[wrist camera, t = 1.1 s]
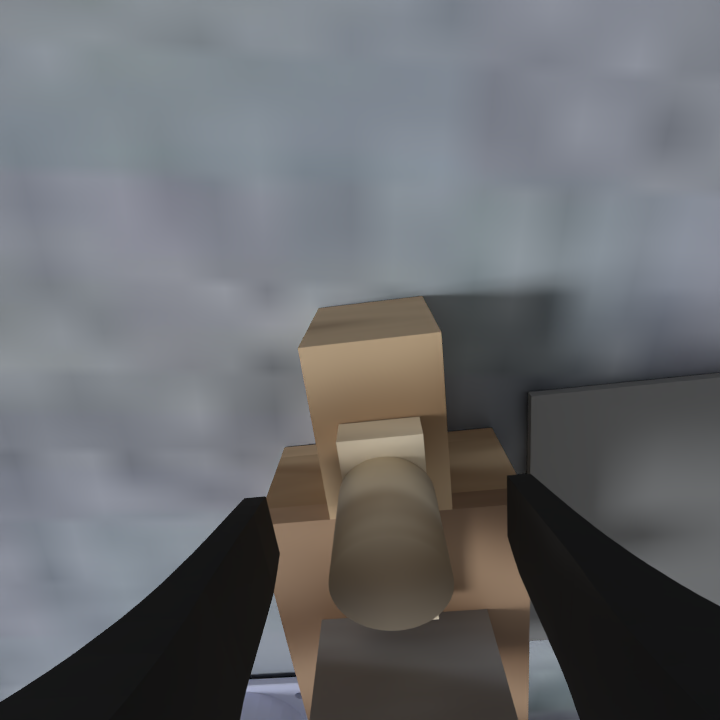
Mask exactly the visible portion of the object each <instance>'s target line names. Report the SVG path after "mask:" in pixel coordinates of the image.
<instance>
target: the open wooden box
mask: <svg viewBox="0 0 720 720" xmlns="http://www.w3.org/2000/svg"><path fill="white" fill-rule="evenodd" d="M298 351H299V356H300V362H301V367H302V372H303V378H304V383H305V388H306V394H307V399H308V404H309V410H310V415H311V420H312V426H313V431H314V436H315V441H316V444H315V445H305V446H294V447H285V448H284V451H283V453H282V456H281V459H280V462H279V464H278V467H277V470H276V473H275V475H274V478H273V481H272V484H271V486H270V489H269V492H268V495H267V497H266V499H267V503H268V507H269V509H271V508H282V507H294V506H306V505H318V504H327V505H328V511H329V516H330V519H336V513H337V505H338V496H339V490H340V486H341V483H342V475H341V469H340V463H339V457H338V451H337V445H336V439H337V433H338V426H339V424H349V423H359V422H369V421H379V420H390V419H400V418H410V417H420V422H421V426H422V431H423V438H424V450H425V461H426V473H427V475H428V476H429V477H430V479H431V481H432V483H433V486H434V489H435V493H436V498H437V503H438V507H439V510H451V509H452V494H451V493H459V492H471V491H482V490H494V489H506V488H507V475H517V474H516V473H515V471H514V469H513V467H512V465H511V463H510V461H509V459H508V457H507V456H506V454H505V452H504V450H503V448H502V446H501V444H500V442H499V440H498V439H497V437H496V435H495V433H494V431H493V429H492V428H483V429H472V430H462V431H451V432H448V430H447V414H446V398H445V382H444V367H443V351H442V335H441V330H440V329H439V327H438V325H437V323H436V321H435V319H434V317H433V315H432V314H431V312H430V310H429V308H428V306H427V304H426V302H425V300H424V299H423V297H422V296H418V297H409V298H401V299H393V300H384V301H376V302H367V303H359V304H351V305H342V306H334V307H325V308H319V309H318V311H317V313H316V315H315V316H314V318H313V320H312V322H311V324H310V326H309V328H308V330H307V332H306V334H305V336H304V337H303V339H302V341H301V343H300V345H299V347H298Z"/></svg>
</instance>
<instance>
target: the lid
mask: <svg viewBox="0 0 720 720" xmlns="http://www.w3.org/2000/svg"><path fill="white" fill-rule="evenodd" d="M451 494H452V509H451V510H439V512H440V517H441V521H442V526H443V531H444V535H445V540H446V544H447V549H448V554H449V558H450V563H451V568H452V572H453V577H454V591H453V595H452V597H451V600H450V602H449V604H448V605H447V607H446V608H445V609H444V610H443V611H442V612H441V613H440V614H439V619H436V620H431V621H429V622H427V623H425V624H423V625H421V626H418V627H415V628H411V629H406V630H399V631H385V630H377V629H372V628H369V627H365V626H363V625H360V624H358V623H356V622H354V621H352V620H351V619H349V618H348V617H346V616H345V615H344V614H343V613H342V612H341V611H340V610H339V609H338V608H337V606H336V605H335V603H334V602H333V600H332V598H331V595H330V592H329V585H328V583H329V572H330V564H331V555H332V547H333V538H334V530H335V522H336V519H330V516H329V511H328V505H327V504H318V505H306V506H294V507H282V508H271V509H269V511H270V515H271V519H272V524H273V528H274V532H275V536H276V540H277V544H278V548H279V552H280V557H279V564H278V571H277V577H276V583H275V589H274V594H275V598H276V602H277V606H278V610H279V613H280V617H281V621H282V625H283V628H284V632H285V636H286V640H287V643H288V647H289V651H290V655H291V659H292V662H293V666H294V670H295V674H296V677H297V681H298V685H299V689H300V693H301V696H302V700H303V704H304V708H305V711H306V715H307V719H308V720H528V690H529V630H530V597H529V595H528V593H527V590H526V588H525V586H524V584H523V581H522V579H521V577H520V574H519V572H518V569H517V565H516V562H515V559H514V556H513V553H512V550H511V546H510V543H509V540H508V537H507V488H506V489H494V490H482V491H471V492H459V493H451Z"/></svg>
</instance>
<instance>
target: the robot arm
mask: <svg viewBox="0 0 720 720" xmlns="http://www.w3.org/2000/svg"><path fill="white" fill-rule="evenodd" d="M507 537H508V540H509V543H510V546H511V550H512V553H513V556H514V559H515V562H516V565H517V569H518V572H519V574H520V577H521V579H522V581H523V584H524V586H525V588H526V590H527V593H528V595H529V597H530V600H531V602H532V604H533V606H534V609H535V611H536V613H537V615H538V617H539V620H540V622H541V624H542V626H543V629H544V631H545V633H546V635H547V638H548V640H549V642H550V644H551V646H552V649H553V651H554V653H555V655H556V658H557V660H558V662H559V664H560V667H561V669H562V672H563V674H564V677H565V679H566V682H567V684H568V687H569V690H570V693H571V695H572V698H573V701H574V704H575V707H576V710H577V712H578V715H579V718H580V720H720V606H719V605H717V604H715V603H713V602H711V601H710V600H708V599H706V598H704V597H702V596H700V595H698V594H697V593H695V592H693V591H692V590H690V589H688V588H686V587H685V586H683V585H681V584H679V583H678V582H676V581H675V580H673V579H671V578H670V577H668V576H666V575H665V574H663V573H662V572H660V571H658V570H657V569H655V568H654V567H652V566H650V565H649V564H647V563H646V562H644V561H643V560H641V559H640V558H638V557H637V556H635V555H634V554H632V553H631V552H629V551H628V550H626V549H625V548H624V547H622V546H621V545H619V544H618V543H616V542H615V541H614V540H612V539H611V538H609V537H608V536H607V535H605V534H604V533H603V532H601V531H600V530H599V529H597V528H596V527H595V526H593V525H592V524H591V523H590V522H588V521H587V520H586V519H585V518H583V517H582V516H581V515H579V514H578V513H577V512H576V511H574V510H573V509H572V508H571V507H570V506H568V505H567V504H566V503H565V502H564V501H562V500H561V499H560V498H559V497H558V496H556V495H555V494H554V493H553V492H552V491H551V490H549V489H548V488H547V487H546V486H545V485H543V484H542V483H541V482H540V481H539V480H538V479H536V478H535V477H534V476H533V475H532V474H518V475H507ZM279 557H280V552H279V548H278V544H277V540H276V536H275V532H274V528H273V524H272V519H271V515H270V511H269V507H268V503H267V499H266V497H254V498H245V499H244V500H243V501H242V502H241V503H240V504H239V505H238V506H237V507H236V508H235V509H234V510H233V511H232V512H231V513H230V514H229V515H228V516H227V517H226V519H225V520H224V521H223V522H222V523H221V524H220V525H219V526H218V527H217V528H216V529H215V530H214V532H213V533H212V534H211V535H210V536H209V537H208V538H207V539H206V540H205V541H204V542H203V543H202V544H201V545H200V546H199V547H198V548H197V549H196V550H195V551H194V553H193V554H192V555H190V556H189V557H188V558H187V559H186V560H185V561H184V562H183V563H182V564H181V565H180V566H179V567H178V568H177V569H176V570H175V571H174V572H173V573H172V574H171V575H170V576H169V577H168V578H167V579H166V580H165V581H164V582H163V583H162V584H160V585H159V586H158V587H157V588H156V589H155V590H154V591H153V592H152V593H150V594H149V595H148V596H147V597H146V598H145V599H144V600H142V601H141V602H140V603H139V604H138V605H136V606H135V607H134V608H133V609H132V610H130V611H129V612H128V613H127V614H126V615H124V616H123V617H122V618H121V619H119V620H118V621H117V622H116V623H114V624H113V625H112V626H110V627H109V628H108V629H106V630H105V631H104V632H102V633H101V634H100V635H98V636H97V637H96V638H94V639H93V640H92V641H90V642H89V643H88V644H86V645H85V646H84V647H82V648H81V649H80V650H78V651H77V652H76V653H74V654H73V655H71V656H70V657H69V658H67V659H66V660H64V661H63V662H61V663H60V664H58V665H57V666H55V667H54V668H53V669H51V670H50V671H48V672H47V673H45V674H44V675H42V676H41V677H39V678H37V679H36V680H34V681H33V682H31V683H30V684H28V685H27V686H25V687H24V688H22V689H21V690H19V691H17V692H16V693H14V694H13V695H11V696H9V697H8V698H6V699H5V700H3V701H1V702H0V720H308V719H307V715H306V711H305V708H304V704H303V700H302V696H301V693H300V689H299V685H298V681H297V677H284V678H266V679H249V678H250V675H251V671H252V668H253V664H254V661H255V657H256V654H257V650H258V647H259V643H260V640H261V636H262V633H263V629H264V626H265V622H266V619H267V615H268V611H269V608H270V604H271V601H272V597H273V593H274V589H275V583H276V577H277V571H278V564H279Z"/></svg>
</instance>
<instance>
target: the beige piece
mask: <svg viewBox="0 0 720 720" xmlns="http://www.w3.org/2000/svg"><path fill="white" fill-rule="evenodd" d="M336 445H337V451H338V457H339V463H340V469H341V475H342V483H341V486H340V490H339V496H338V505H337V513H336V522H335V530H334V538H333V547H332V555H331V564H330V572H329V583H328V585H329V592H330V595H331V598H332V600H333V602H334V603H335V605H336V606H337V608H338V609H339V610H340V611H341V612H342V613H343V614H344V615H345V616H346V617H348V618H349V619H351V620H352V621H354V622H356V623H358V624H360V625H363V626H365V627H369V628H372V629H377V630H385V631H399V630H406V629H411V628H415V627H418V626H421V625H423V624H425V623H427V622H429V621H431V620H436V619H439V614H440V613H441V612H442V611H443V610H444V609H445V608H446V607H447V605H448V604H449V602H450V600H451V597H452V595H453V591H454V577H453V572H452V568H451V563H450V558H449V554H448V549H447V544H446V540H445V535H444V531H443V526H442V521H441V517H440V512H439V507H438V503H437V498H436V493H435V489H434V486H433V483H432V481H431V479H430V477H429V476H428V475H427V473H426V461H425V450H424V438H423V431H422V426H421V422H420V417H410V418H400V419H390V420H379V421H369V422H359V423H349V424H339V426H338V433H337V439H336Z"/></svg>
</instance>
